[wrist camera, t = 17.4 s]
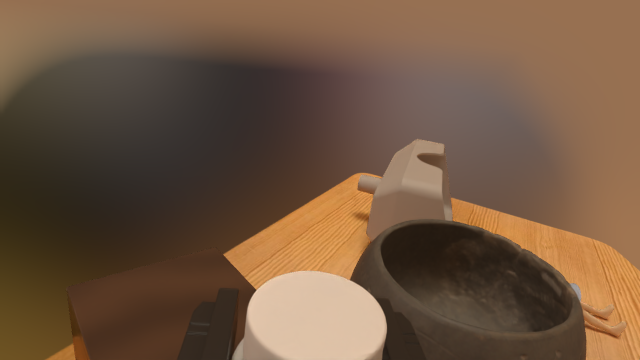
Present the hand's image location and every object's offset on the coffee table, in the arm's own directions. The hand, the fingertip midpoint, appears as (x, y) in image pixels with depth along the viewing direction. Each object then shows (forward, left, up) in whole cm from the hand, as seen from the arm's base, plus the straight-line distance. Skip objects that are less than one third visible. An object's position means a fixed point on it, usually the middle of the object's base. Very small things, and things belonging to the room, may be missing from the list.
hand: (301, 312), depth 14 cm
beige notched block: (+40, +22, -18) cm, 48 cm away
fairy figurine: (+41, -1, -18) cm, 45 cm away
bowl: (+19, +2, -18) cm, 26 cm away
